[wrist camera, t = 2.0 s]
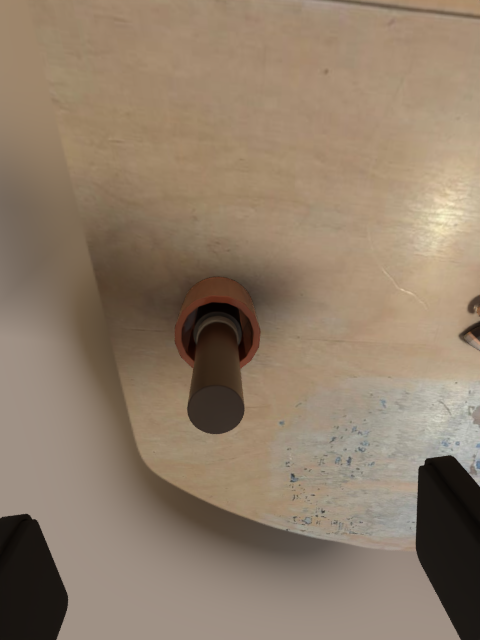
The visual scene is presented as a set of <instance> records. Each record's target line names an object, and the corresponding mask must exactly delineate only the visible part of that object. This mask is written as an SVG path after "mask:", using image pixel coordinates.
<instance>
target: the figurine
mask: <svg viewBox="0 0 480 640" xmlns="http://www.w3.org/2000/svg"><path fill="white" fill-rule="evenodd" d="M477 313H478V315H479V316H480V306H479V307H478V309H477ZM464 339H465V340H466V341H467V342H468V343H469V344H470V345H472V346H473V347H474V348H476V349H477V350H479V351H480V326H479V327H477V328H475V329H473V330H471V331H470V332H468V333H467V334H466V335H464Z"/></svg>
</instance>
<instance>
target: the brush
mask: <svg viewBox="0 0 480 640" xmlns="http://www.w3.org/2000/svg"><path fill="white" fill-rule="evenodd" d="M193 337H194V341H195V343H196V345H197V347H196V354H195V361H194V367H193V374H192V380H191V387H190V393H189V400H188V407H187V412H188V416H189V419H190V421H191V422H192V423H193V425H194V426H195V427H196V428H198V429H199V430H201V431H203V432H206V433H210V434H221V433H225V432H228V431H230V430H232V429H234V428H235V427H236V426H237V425H238V424H239V423H240V421H241V420H242V418H243V415H244V399H243V390H242V380H241V371H240V361H239V352H238V346H239V344H240V342H241V339H242V329H241V322H240V315H239V309H238V308H237V307H235V306H232V305H230V304H228V303H219V302H211V303H208V304H205V305H202V306H199V307H198V310H197V315H196V320H195V325H194V331H193Z"/></svg>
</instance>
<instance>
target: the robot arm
mask: <svg viewBox="0 0 480 640" xmlns="http://www.w3.org/2000/svg"><path fill="white" fill-rule="evenodd" d="M416 551H417V555H418V558H419V561H420V563H421V565H422V567H423V569H424V571H425V572H426V574H427V576H428V578H429V580H430V582H431V584H432V586H433V588H434V590H435V592H436V593H437V595H438V597H439V599H440V601H441V603H442V605H443V607H444V608H445V611H446V612H447V614H448V616H449V618H450V620H451V622H452V624H453V626H454V628H455V629H456V631H457V633H458V635H459V637H460V639H461V640H480V486H479V485H478V484H477V483H476V482H475V481H474V479H473V478H472V477H471V476H470V475H469V474H468V472H467V471H466V470H465V469H464V468H463V467H462V465H461V464H460V463H459V462H458V461H457V460H456V459H455V458H454V457H453V456H451V455H449V456H442V457H434V458H428V459H426V460H425V464H424V466H420V467H419V471H418V498H417V525H416ZM67 606H68V595H67V592H66V590H65V587H64V585H63V582H62V580H61V577H60V575H59V572H58V570H57V568H56V565H55V563H54V560H53V558H52V555H51V553H50V550H49V548H48V546H47V543H46V541H45V538H44V536H43V533H42V531H41V528H40V526H39V524H38V522H37V520H35V519H33V520H32V518H31V517H30V515H28V514H21V515H14V516H7V517H2V518H0V640H56V639H57V636H58V634H59V631H60V628H61V625H62V623H63V620H64V617H65V614H66V611H67Z"/></svg>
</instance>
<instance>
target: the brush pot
mask: <svg viewBox="0 0 480 640" xmlns="http://www.w3.org/2000/svg"><path fill="white" fill-rule="evenodd" d="M211 302H219V303H228V304H230V305H232V306H235V307H237V308H238V309H239V315H240V322H241V329H242V339H241V342H240V344H239V346H238V352H239V361H240V369H241V368H242V367H243V366H245V365H246V364H247V363H248V362H250V361H251V360H252V358H253V357H254V355H255V353H256V351H257V349H258V348H259V342H260V327H259V323H258V320H257V316H256V312H255V309H254V306H253V303H252V299H251V297H250V295H249V293H248V292H247V291H246V289H245V288H244V287H243V286H242V285H240V284H239V283H238V282H236V281H234V280H232V279H229V278H225V277H211V278H207V279H204V280H202V281H200V282H198V283H197V284H195V285H194V286H193V287H192V288H191V289H190V290H189V292H188V293H187V295H186V297H185V300H184V302H183V304H182V307H181V310H180V313H179V316H178V319H177V322H176V325H175V344H176V347H177V349H178V351H179V354H180V356H181V357H182V358H183V359H184V360H185V361H186V362H187V363H188V364H189V365H190V366H191V367H192V368H193V367H194V361H195V354H196V347H197V345H196V343H195V341H194V337H193V331H194V325H195V320H196V315H197V310H198V307H199V306H202V305H205V304H208V303H211Z"/></svg>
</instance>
